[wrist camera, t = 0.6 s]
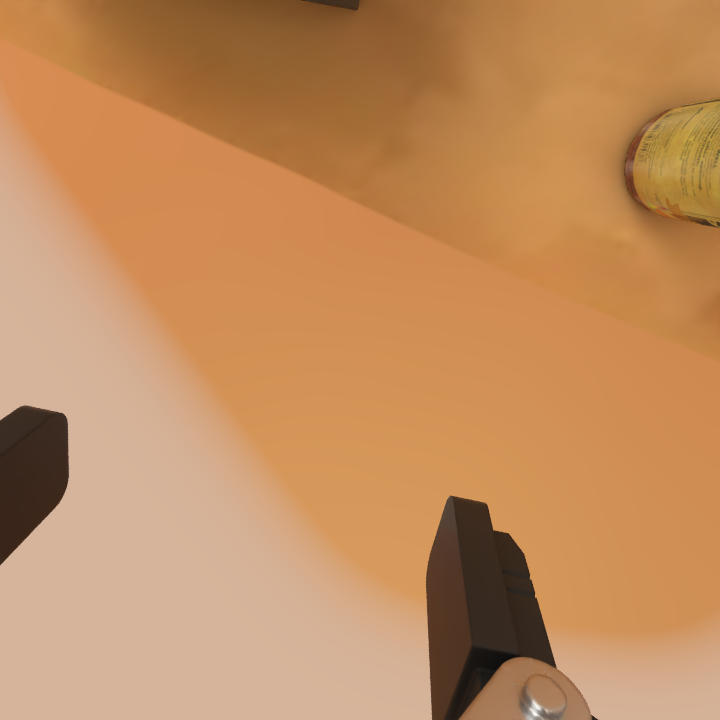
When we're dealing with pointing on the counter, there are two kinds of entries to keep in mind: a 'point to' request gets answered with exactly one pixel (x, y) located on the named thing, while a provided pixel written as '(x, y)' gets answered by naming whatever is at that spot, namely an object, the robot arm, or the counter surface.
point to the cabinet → (339, 3)
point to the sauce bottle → (679, 164)
